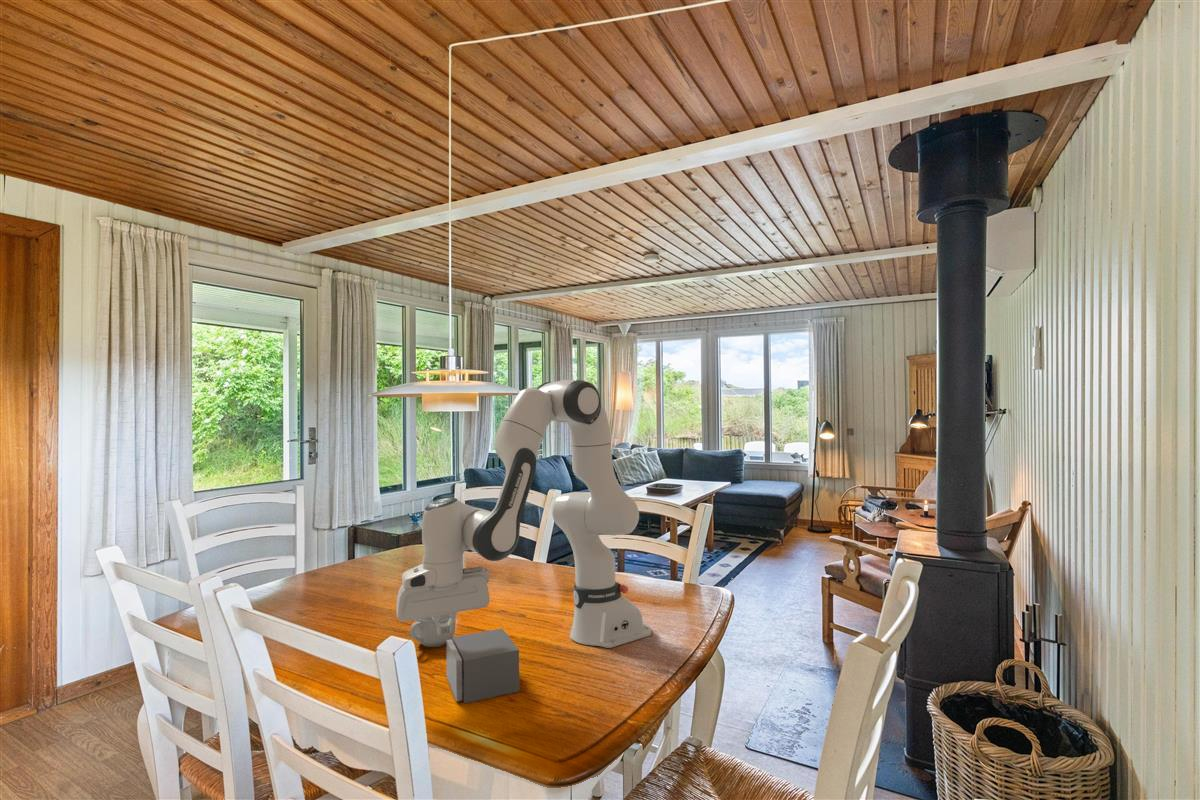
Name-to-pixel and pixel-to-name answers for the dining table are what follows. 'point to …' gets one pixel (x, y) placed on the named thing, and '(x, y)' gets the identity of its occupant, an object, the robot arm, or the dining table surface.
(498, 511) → the robot arm
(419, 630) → the teacup
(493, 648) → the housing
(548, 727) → the dining table surface
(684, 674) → the dining table surface
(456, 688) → the tray
